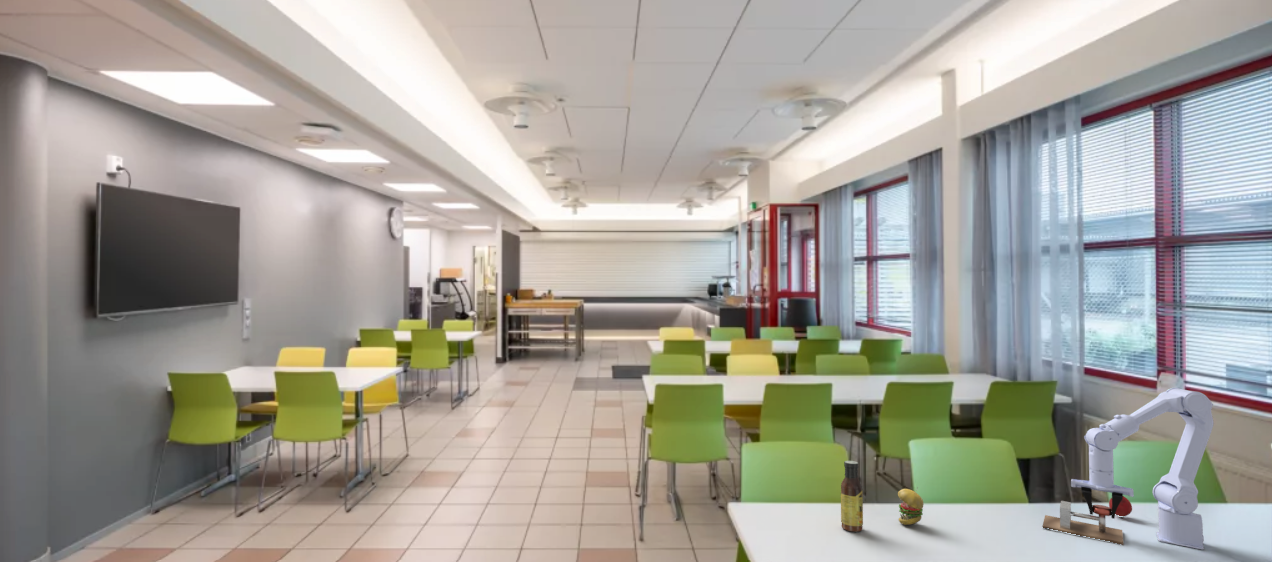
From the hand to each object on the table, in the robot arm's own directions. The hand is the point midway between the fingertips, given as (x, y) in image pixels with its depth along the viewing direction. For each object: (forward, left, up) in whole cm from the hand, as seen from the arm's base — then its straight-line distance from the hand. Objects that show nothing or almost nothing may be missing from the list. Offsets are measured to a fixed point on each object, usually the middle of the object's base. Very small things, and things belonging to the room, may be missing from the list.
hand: (1102, 515), depth 174 cm
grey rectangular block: (+9, 0, -6) cm, 10 cm away
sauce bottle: (+59, +44, -6) cm, 74 cm away
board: (+5, 0, -6) cm, 7 cm away
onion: (-5, -22, -6) cm, 23 cm away
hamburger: (+46, +29, -6) cm, 55 cm away
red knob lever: (+4, 0, -4) cm, 6 cm away
